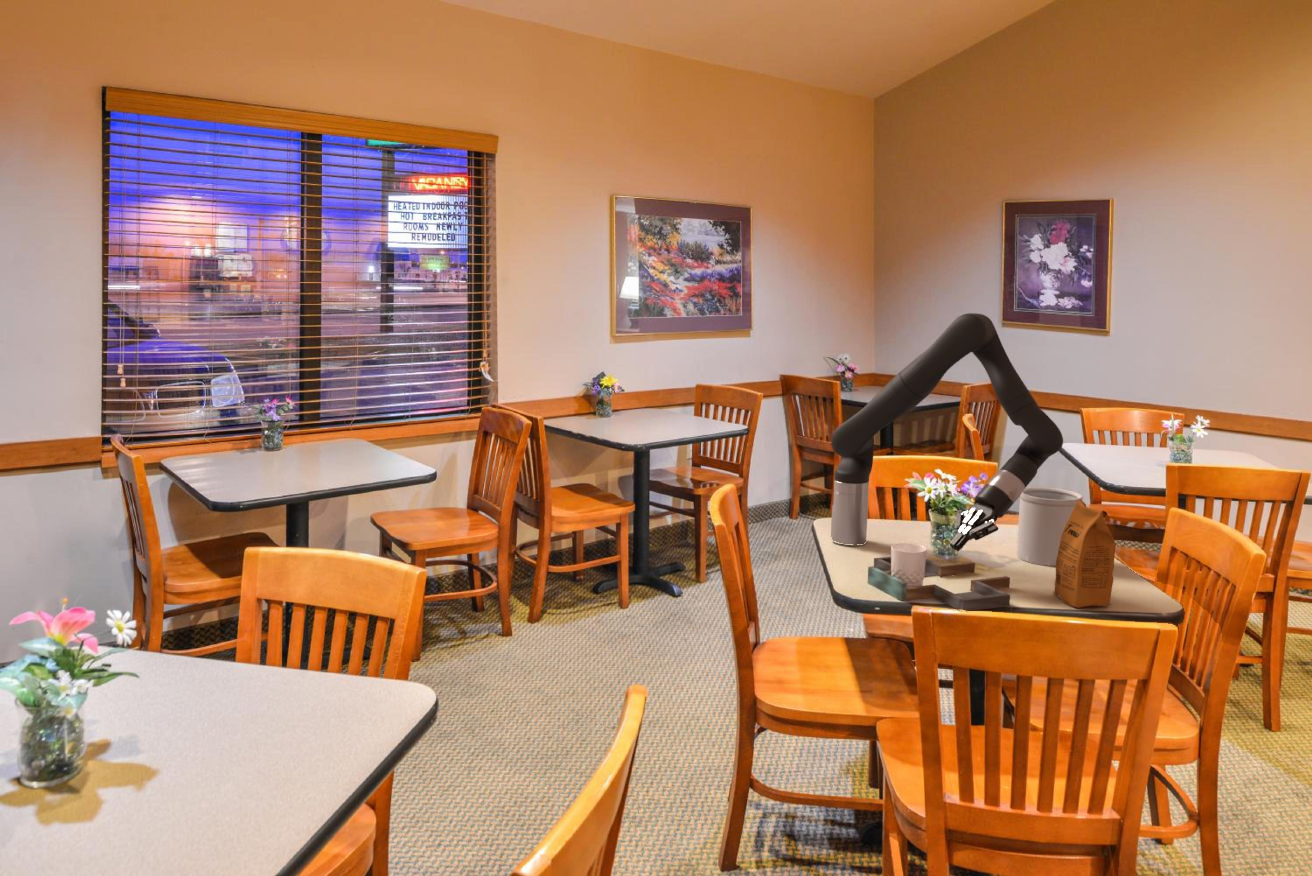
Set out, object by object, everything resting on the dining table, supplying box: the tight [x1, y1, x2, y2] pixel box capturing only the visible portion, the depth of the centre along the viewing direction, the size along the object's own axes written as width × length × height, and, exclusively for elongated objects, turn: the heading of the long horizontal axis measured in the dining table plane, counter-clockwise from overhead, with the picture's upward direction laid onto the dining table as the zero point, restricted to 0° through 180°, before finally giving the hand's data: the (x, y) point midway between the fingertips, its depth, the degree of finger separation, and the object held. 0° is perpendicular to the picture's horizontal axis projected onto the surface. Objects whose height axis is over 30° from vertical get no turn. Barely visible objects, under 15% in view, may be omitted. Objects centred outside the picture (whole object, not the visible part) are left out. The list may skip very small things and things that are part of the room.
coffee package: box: [1053, 499, 1116, 609], centre depth 202 cm, size 10×12×22 cm
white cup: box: [890, 542, 928, 587], centre depth 209 cm, size 8×8×10 cm
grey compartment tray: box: [867, 556, 1011, 611], centre depth 213 cm, size 34×30×4 cm
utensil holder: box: [1016, 486, 1083, 567], centre depth 235 cm, size 15×15×18 cm
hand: (953, 548), depth 213 cm, fingers closed
